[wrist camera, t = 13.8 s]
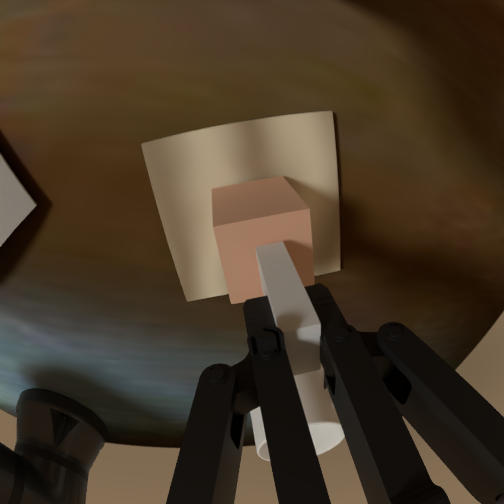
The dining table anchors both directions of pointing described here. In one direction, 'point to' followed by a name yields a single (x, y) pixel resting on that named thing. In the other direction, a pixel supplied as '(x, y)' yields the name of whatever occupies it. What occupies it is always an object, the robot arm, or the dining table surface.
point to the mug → (307, 415)
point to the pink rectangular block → (259, 231)
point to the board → (239, 171)
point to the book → (12, 201)
